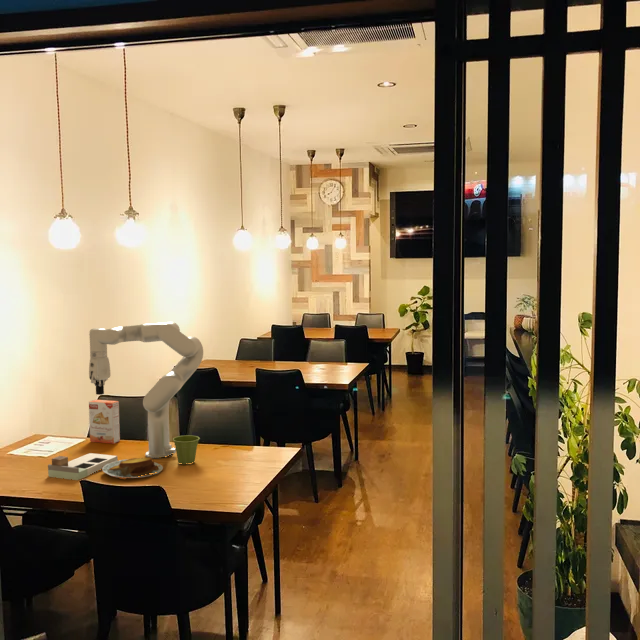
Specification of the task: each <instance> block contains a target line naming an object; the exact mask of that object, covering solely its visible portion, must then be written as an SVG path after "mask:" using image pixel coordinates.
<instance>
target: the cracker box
mask: <svg viewBox="0 0 640 640" xmlns="http://www.w3.org/2000/svg"><path fill="white" fill-rule="evenodd" d="M119 403H120V402H119V401H118V400H108V399H107V400H105V399H94V400H90V401H88V415H89V417H88V421H89V441H91V443H99V444H100V443H102V444H103V443H104V444H112V445H113V444H116V443H118V442H120V441H121V434H120V433H121V431H120V428H121V427H120V404H119Z"/></svg>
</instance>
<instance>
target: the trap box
mask: <svg viewBox="0 0 640 640" xmlns="http://www.w3.org/2000/svg"><path fill="white" fill-rule="evenodd" d="M118 458H119V457H118V455H113V454H112V455H111V454H102V453H101V454H100V453H92V452H89V453H87V454H84V455H81V456H79V457H77V458H74V459H72V460H68V466H59V465H52V463H51V464H50V463H49V464H48V465H47V472H48V473H47V474H48V475H47V476H49V478H55V477H56V478H57V479H63V478H64V479H65V480H71V479H72V480H73V481H79V480H81V479H85V477H89V476H90V474H91V475H92V473H93V474H95V473H97V472H99V471H98V470H100V469H102V468H103V466H105V465H106V464H109V463H111V462H115V461H119V460H118ZM102 470H103V469H102ZM96 471H97V472H96ZM100 471H101V470H100ZM94 472H95V473H94Z"/></svg>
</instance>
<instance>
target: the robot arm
mask: <svg viewBox="0 0 640 640" xmlns="http://www.w3.org/2000/svg"><path fill="white" fill-rule="evenodd" d="M179 326H180V325H178V324H177V323H176V322H174V321H167V322H166V321H165V322H156V323H143V324H135V325H122V326H115V327H112V328H108V329H107V328H102V327H101V328H100V327H98V328H91V329H90V330H89V332H88V333H89V334H88V335H89V365H88V366H89V367H88V378H89V380H90V383H91V384H93V385H94V386H95V395H99V396H101V395H104V394H105V389H104V388H105V384H106V381H108V380H109V378H111V365H110V359H109V357H108V345H109V346H111V345H112V346H113V345H118V344H120V343H127V342H142V343H154V342H163V343H164V344H165V345H167V347H169V348H170V349H172V350H173V351H174V352H176V353H177V354H178V355H180V356H182V358H181V359H180V360H179V361H178V362H177V363H176V365H175V366H173V368H172V369H171V370H169V372H167V373H166V374H164V375H163V376H162V377H161V378H160V379H159V380H158V381H157V382H156V383H155V384H154V386H153V387H152V388H151V389H150V390H149V391H147V393H146V394H145V395H144V397H143V399H142V406H143V408H144V409H145V411H147V428H148V429H147V436H148V437H147V438H148V451H146V452H145V458H146V457H151V458H152V459H160V458H159V457H165V456H168V455H171V454H172V453H173V454H177V453H176V447H172V444H170V401H171V400H172V398H173V397H174V396H175V395H176V394H177V393H178V392H179V391H180V390H181V389H182V387H183V386H184V385H185V384H186V382H187V381H188V380H189V379H190V378H191V377H192V375H193V374H194V373H195V372H196V371H197V369H198V368H199V367H200V365H201V364H202V361H203V358H204V347H203V344H202V342H201V341H200V339H199V338H197V337H195V336H187V335H186V334H184V333H182V331H181V330H180V327H179ZM171 456H172V455H171ZM165 458H166V457H165Z"/></svg>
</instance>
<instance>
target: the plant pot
mask: <svg viewBox="0 0 640 640" xmlns="http://www.w3.org/2000/svg"><path fill="white" fill-rule="evenodd" d="M200 439H201V438H200V437H199V436H198V435H187V434H186V435H179V436H175V437H173V438H172V441H173V443H174V446H175V447H174V448H176V453H175V454H176V457H177V463H178V464H179V463H182V464H186V463H192V462H194V461H195V460H196V456H197V455H196V454H197V450H198V445H199V440H200ZM195 462H196V461H195ZM195 462H194V463H195Z"/></svg>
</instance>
